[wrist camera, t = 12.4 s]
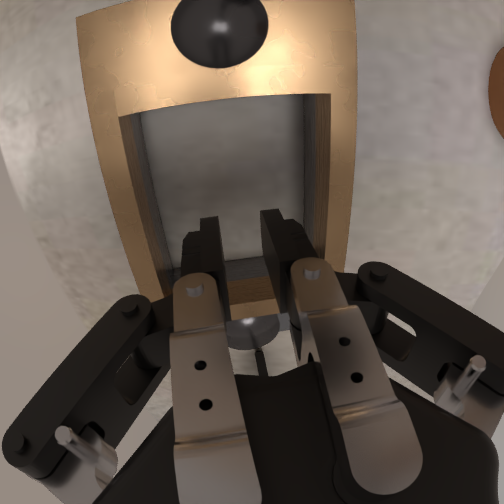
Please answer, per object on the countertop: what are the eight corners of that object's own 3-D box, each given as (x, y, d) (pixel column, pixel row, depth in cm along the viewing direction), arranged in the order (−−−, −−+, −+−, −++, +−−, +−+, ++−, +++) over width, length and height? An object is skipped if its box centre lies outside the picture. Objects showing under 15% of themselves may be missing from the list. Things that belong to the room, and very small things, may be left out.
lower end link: (112, 87, 13) (92, 93, 11) (323, 64, 14) (349, 66, 11) (173, 325, 23) (171, 358, 20) (315, 304, 24) (328, 335, 21)
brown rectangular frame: (105, 25, 11) (68, 15, 7) (320, 4, 12) (362, -12, 8) (159, 285, 21) (153, 339, 17) (319, 263, 21) (343, 312, 17)
